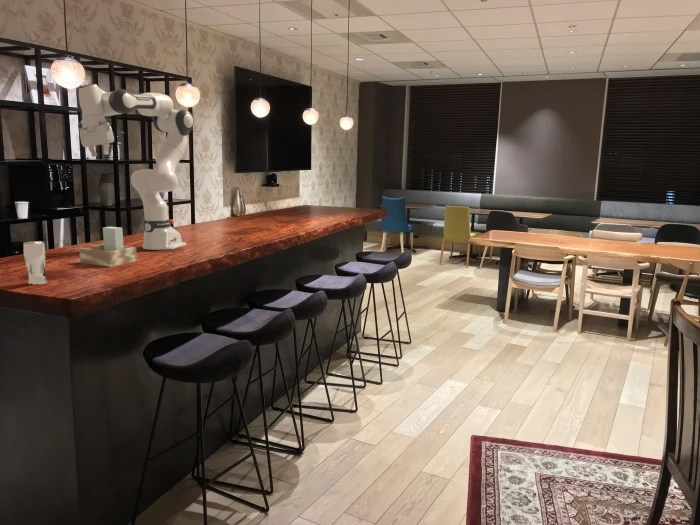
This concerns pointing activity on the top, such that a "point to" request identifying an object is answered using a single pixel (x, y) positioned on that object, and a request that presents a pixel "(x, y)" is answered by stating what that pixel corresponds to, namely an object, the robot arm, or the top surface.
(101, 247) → the offcut short
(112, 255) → the tray
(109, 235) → the pale green block
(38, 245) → the beer glass
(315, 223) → the top surface
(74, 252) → the top surface
